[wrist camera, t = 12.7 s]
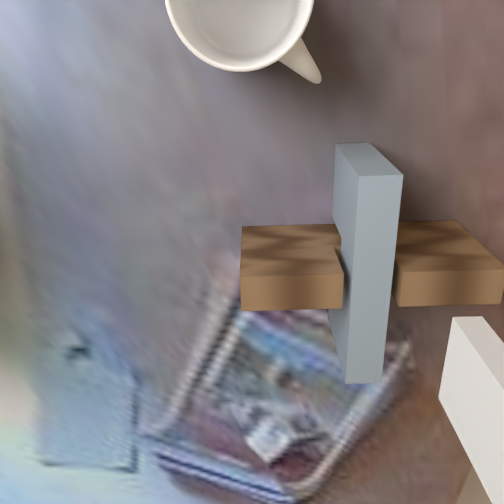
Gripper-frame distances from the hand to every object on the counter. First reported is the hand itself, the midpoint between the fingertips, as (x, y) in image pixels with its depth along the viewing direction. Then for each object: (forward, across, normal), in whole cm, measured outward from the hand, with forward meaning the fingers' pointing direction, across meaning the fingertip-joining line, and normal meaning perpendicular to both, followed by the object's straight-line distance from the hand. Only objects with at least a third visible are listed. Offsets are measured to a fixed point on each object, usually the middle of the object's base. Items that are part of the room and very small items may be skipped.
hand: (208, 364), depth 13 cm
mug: (+31, +2, +9) cm, 32 cm away
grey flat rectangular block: (+31, +10, -10) cm, 34 cm away
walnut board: (+31, +10, -10) cm, 34 cm away
